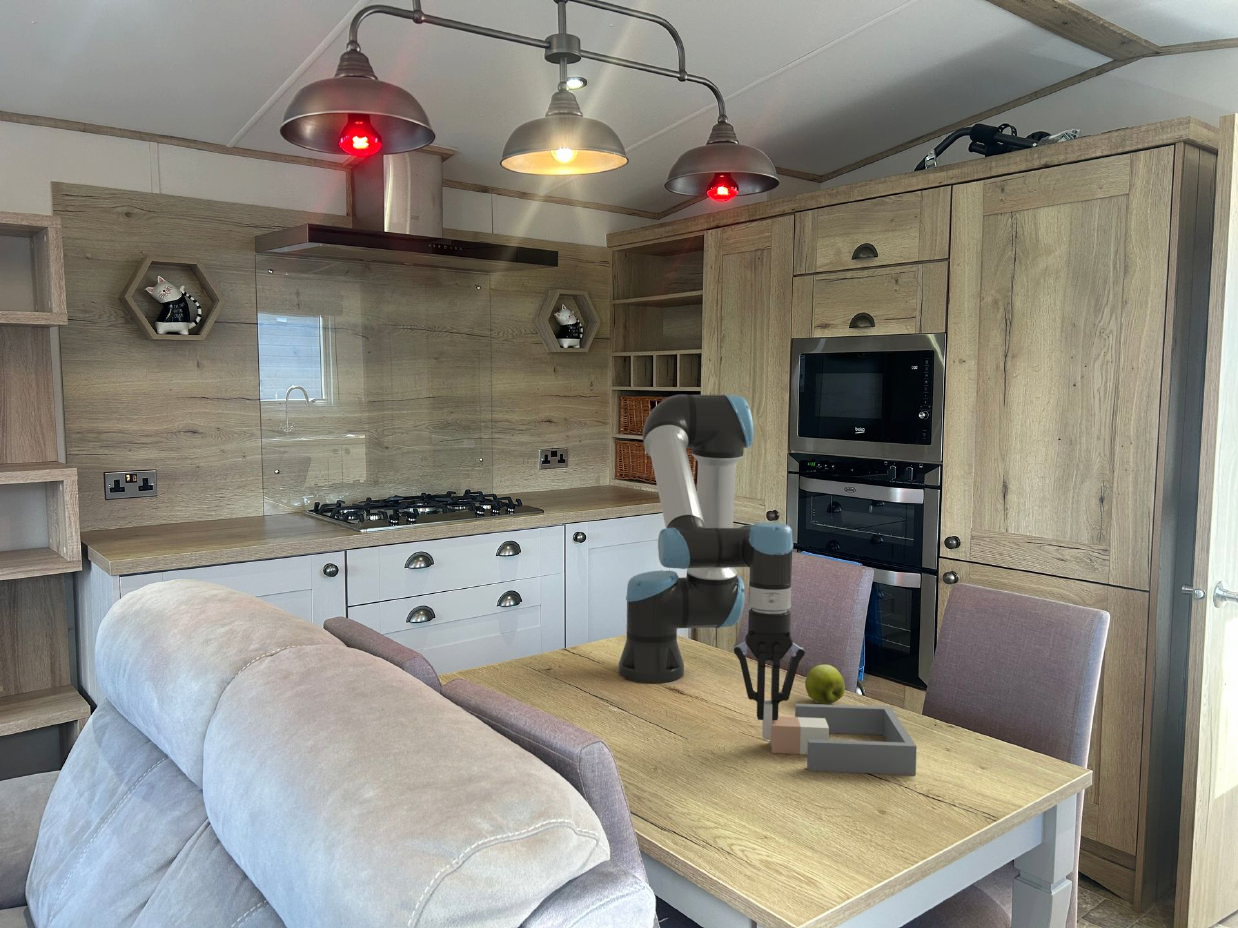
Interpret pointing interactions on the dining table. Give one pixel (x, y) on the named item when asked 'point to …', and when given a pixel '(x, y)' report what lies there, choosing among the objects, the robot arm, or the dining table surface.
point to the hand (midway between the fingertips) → (766, 736)
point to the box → (860, 754)
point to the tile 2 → (812, 731)
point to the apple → (825, 684)
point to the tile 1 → (785, 735)
